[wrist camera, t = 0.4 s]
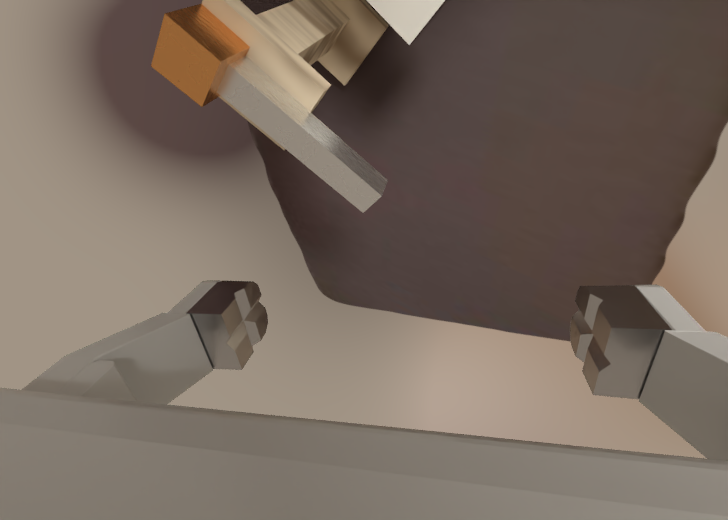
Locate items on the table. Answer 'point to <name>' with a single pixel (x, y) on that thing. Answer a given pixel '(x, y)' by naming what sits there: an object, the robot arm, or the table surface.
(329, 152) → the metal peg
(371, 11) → the tall stand
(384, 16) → the grey i-shaped pedestal
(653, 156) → the table surface
